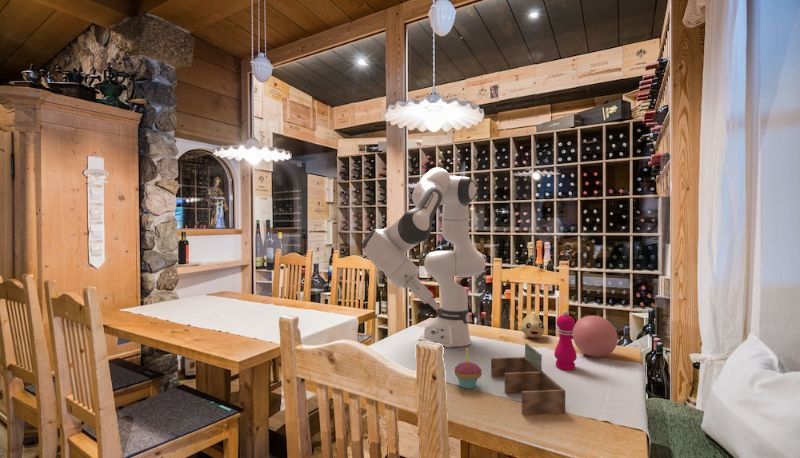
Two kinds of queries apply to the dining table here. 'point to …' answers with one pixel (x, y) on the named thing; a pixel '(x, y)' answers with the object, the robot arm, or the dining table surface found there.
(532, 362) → the walnut rack
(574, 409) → the dining table surface
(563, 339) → the pepper mill
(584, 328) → the balloon
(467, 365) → the cupcake
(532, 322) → the beige toy head
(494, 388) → the dining table surface
